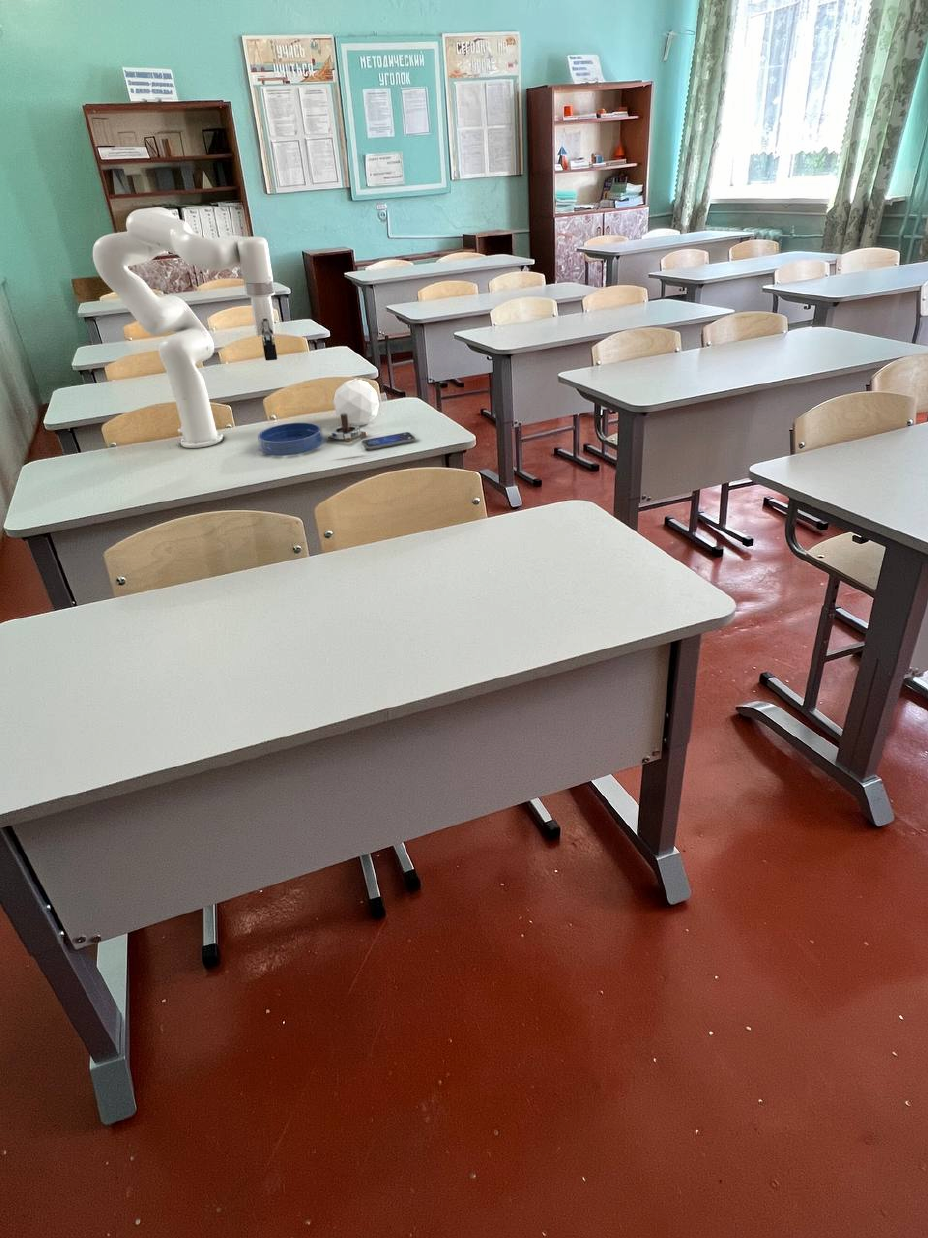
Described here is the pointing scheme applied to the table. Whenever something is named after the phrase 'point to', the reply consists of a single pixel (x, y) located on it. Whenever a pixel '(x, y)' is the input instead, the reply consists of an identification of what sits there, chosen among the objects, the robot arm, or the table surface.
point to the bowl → (290, 438)
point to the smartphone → (388, 440)
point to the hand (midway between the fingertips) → (270, 355)
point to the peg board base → (347, 430)
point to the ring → (348, 435)
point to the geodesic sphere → (356, 402)
